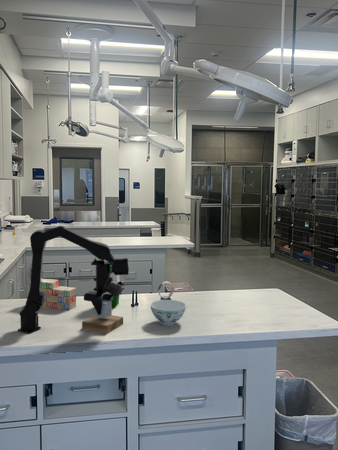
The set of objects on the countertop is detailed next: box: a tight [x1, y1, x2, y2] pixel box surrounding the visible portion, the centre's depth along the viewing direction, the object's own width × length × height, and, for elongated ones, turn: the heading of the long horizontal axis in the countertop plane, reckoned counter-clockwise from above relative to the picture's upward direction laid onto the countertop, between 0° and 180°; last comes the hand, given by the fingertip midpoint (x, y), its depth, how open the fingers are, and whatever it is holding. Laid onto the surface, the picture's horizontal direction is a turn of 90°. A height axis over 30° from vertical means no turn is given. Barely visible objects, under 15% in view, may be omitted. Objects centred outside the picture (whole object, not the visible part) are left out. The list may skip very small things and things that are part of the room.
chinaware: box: [149, 299, 187, 326], centre depth 170 cm, size 15×15×8 cm
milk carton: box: [110, 265, 121, 309], centre depth 193 cm, size 9×9×20 cm
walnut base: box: [81, 315, 124, 334], centre depth 165 cm, size 12×12×3 cm
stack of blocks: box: [29, 278, 77, 311], centre depth 191 cm, size 21×6×12 cm, turn 73°
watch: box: [156, 281, 175, 300], centre depth 197 cm, size 6×8×11 cm
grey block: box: [93, 300, 113, 318], centre depth 164 cm, size 5×5×6 cm
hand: (102, 312), depth 164 cm, fingers closed on grey block, 5 cm apart
